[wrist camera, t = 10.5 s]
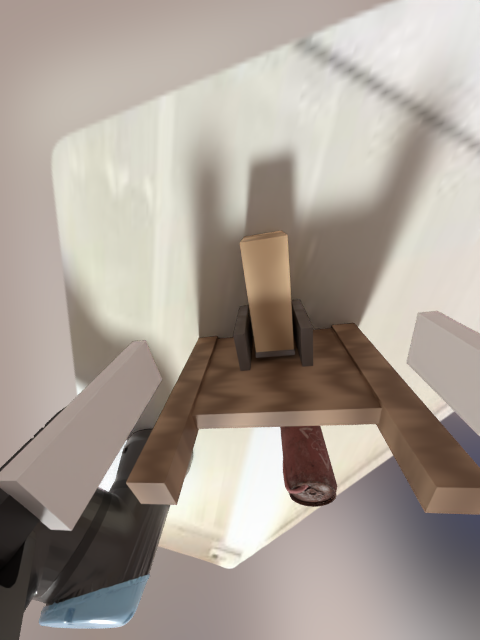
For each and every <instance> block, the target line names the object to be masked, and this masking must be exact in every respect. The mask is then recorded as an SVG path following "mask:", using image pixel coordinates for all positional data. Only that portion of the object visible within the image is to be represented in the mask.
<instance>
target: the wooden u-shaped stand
mask: <svg viewBox="0 0 480 640" xmlns="http://www.w3.org/2000/svg"><path fill="white" fill-rule="evenodd" d="M291 306H292V324H293V342H294V350H295V355H287V356H274V357H260V358H256V348H255V342H254V336H253V334H252V328H251V321H250V315H249V308H248V306H240V308H239V312H238V316H237V321H236V325H235V329H234V334H233V337H232V338H222V339H218V337H217V336H213V337H203V338H199V339H198V341H197V343H196V345H195V347H194V349H193V351H192V353H191V355H190V357H189V359H188V361H187V363H186V365H185V367H184V368H183V370H182V372H181V374H180V376H179V378H178V380H177V382H176V384H175V386H174V388H173V390H172V392H171V394H170V396H169V398H168V400H167V402H166V404H165V406H164V408H163V410H162V412H161V414H160V416H159V418H158V420H157V422H156V424H155V426H154V428H153V430H152V432H151V434H150V436H149V438H148V440H147V442H146V444H145V446H144V448H143V450H142V452H141V454H140V456H139V458H138V460H137V462H136V464H135V466H134V468H133V469H132V471H131V473H130V475H129V477H128V479H127V481H126V484H127V485H128V486H129V488H130V489H131V490H132V492H133V493H134V495H135V496H136V497H137V499H138V500H139V502H140V503H141V504H167V505H177V502H178V499H179V495H180V492H181V488H182V485H183V482H184V478H185V475H186V471H187V468H188V464H189V461H190V457H191V454H192V451H193V447H194V444H195V440H196V437H197V433H198V430H199V429H208V428H246V427H283V426H320V425H358V424H376V425H377V426H378V428H379V430H380V432H381V434H382V436H383V437H384V439H385V441H386V443H387V445H388V446H389V448H390V450H391V452H392V454H393V455H394V457H395V459H396V461H397V463H398V464H399V466H400V468H401V470H402V472H403V473H404V475H405V477H406V479H407V481H408V482H409V484H410V486H411V488H412V490H413V492H414V493H415V495H416V497H417V499H418V501H419V502H420V504H421V506H422V508H423V509H424V511H425V513H450V514H451V513H452V514H480V468H479V467H478V465H477V464H476V463H475V462H474V461H473V460H472V458H471V457H470V456H469V455H468V454H467V453H466V452H465V450H464V449H463V448H462V447H461V446H460V445H459V443H458V442H457V441H456V440H455V439H454V438H453V437H452V435H451V434H450V433H449V432H448V431H447V430H446V428H444V426H443V425H442V424H441V423H440V422H439V420H438V419H437V418H436V417H435V416H434V415H433V413H432V412H431V411H430V410H429V409H428V408H427V407H426V405H425V404H424V403H423V402H422V401H421V400H420V398H419V397H418V396H417V395H416V394H415V393H414V392H413V390H412V389H411V388H410V387H409V386H408V385H407V383H406V382H405V381H404V380H403V379H402V378H401V377H400V375H399V374H398V373H397V372H396V371H395V370H394V368H393V367H392V366H391V365H390V364H389V363H388V362H387V360H386V359H385V358H384V357H383V356H382V355H381V353H380V352H379V351H378V350H377V349H376V348H375V347H374V345H373V344H372V343H371V342H370V341H369V340H368V338H367V337H366V336H365V335H364V334H363V333H362V332H361V330H360V329H359V328H358V327H357V326H356V325H355V323H349V324H338V325H332V328H328V329H318V330H313V327H312V325H311V322H310V320H309V318H308V316H307V314H306V312H305V309H304V307H303V305H302V303H301V301H300V300H292V301H291Z"/></svg>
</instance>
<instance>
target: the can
mask: <svg viewBox="0 0 480 640" xmlns="http://www.w3.org/2000/svg"><path fill="white" fill-rule="evenodd" d="M280 428H281V439H282V450H283V475H284V482H285V487H286V489H287V491H288V492H289V494H290V497H291V499H292V500H293V501H295V502H296V503H299V504H301V505H305V506H313V507H315V506H323V505H327V504H329V503H331V502H333V501H334V500H335V499H336V490H337V484H336V480H335V477H334V473H333V469H332V466H331V462H330V459H329V455H328V452H327V448H326V445H325V441H324V438H323V434H322V431H321V427H320V426H283V427H280Z"/></svg>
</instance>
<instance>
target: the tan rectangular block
mask: <svg viewBox="0 0 480 640" xmlns="http://www.w3.org/2000/svg"><path fill="white" fill-rule="evenodd" d="M240 249H241V256H242V262H243V269H244V276H245V282H246V289H247V295H248V302H249V309H250V315H251V322H252V329H253V335H254V342H255V348H256V358H260V357H274V356H287V355H295V350H294V342H293V324H292V306H291V288H290V270H289V252H288V235H287V234H285V233H284V232H283V231H276V232H270V233H264V234H258V235H251V236H245V237H244V238H243V239H242V240H241V242H240Z"/></svg>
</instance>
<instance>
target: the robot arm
mask: <svg viewBox="0 0 480 640" xmlns="http://www.w3.org/2000/svg"><path fill="white" fill-rule="evenodd" d="M407 364H408V365H409V366H410V367H411V368H412V369H413V370H414V371H415V372H416V373H417V374H418V375H419V376H420V377H421V378H422V379H423V380H424V381H425V382H426V383H427V384H428V385H429V386H430V387H431V388H432V389H433V390H434V391H435V392H436V393H437V394H438V395H439V396H440V397H441V398H442V399H443V400H444V401H445V402H446V403H447V404H448V405H449V406H450V407H451V408H452V409H453V410H454V411H455V412H456V413H457V414H458V415H459V416H460V417H461V418H462V419H463V420H464V421H465V422H466V423H467V424H468V425H469V426H470V427H471V428H472V429H473V430H474V431H475V432H476V433H477V434H478V435H479V436H480V334H479V333H478V332H476V331H474V330H472V329H470V328H468V327H466V326H465V325H463V324H461V323H459V322H457V321H455V320H453V319H451V318H450V317H448V316H446V315H444V314H442V313H440V312H438V311H432V312H422V313H418V314H417V319H416V323H415V327H414V332H413V336H412V341H411V345H410V349H409V354H408V358H407ZM161 381H162V378H161V375H160V373H159V371H158V368H157V366H156V364H155V361H154V359H153V356H152V354H151V352H150V349H149V347H148V344H147V342H146V340H142V341H133V342H132V343H131V344H130V345H129V346H128V347H127V348H126V349H125V350H124V351H123V352H122V353H120V354H119V355H118V356H117V357H116V358H115V359H114V360H113V361H112V362H111V363H110V364H109V365H108V366H107V367H106V368H105V369H104V370H103V371H102V372H101V373H100V374H99V375H98V376H97V377H96V378H95V379H94V380H93V381H92V382H91V383H90V384H89V385H88V386H87V387H86V388H85V389H84V390H83V391H82V392H81V393H80V394H79V395H78V396H77V397H76V398H75V399H74V400H73V401H72V402H71V403H70V404H69V405H68V406H66V407H65V408H63V409H62V410H61V411H59V412H58V413H57V414H56V415H55V416H54V417H53V418H51V420H49V422H47V423H46V424H45V427H44V428H41V429H40V430H39V431H38V432H37V433H36V434H35V435H34V438H32V439H30V440H29V441H28V442H27V443H26V444H25V445H24V446H23V447H22V448H21V449H20V450H19V451H17V452H16V453H15V454H14V455H13V457H11V458H10V459H9V460H8V461H7V462H6V463H5V464H4V465H3V466H2V467H1V468H0V640H19V636H20V630H21V625H22V618H23V613H24V611H25V610H26V608H27V607H28V605H29V603H30V601H31V600H32V599H33V600H38V601H41V602H43V603H46V606H45V607H44V608H43V610H42V611H41V616H40V619H39V624H40V625H41V626H51V627H59V628H115V627H120V626H123V625H125V624H126V623H128V622H129V621H130V619H131V618H132V617H133V615H134V614H135V612H136V610H137V607H138V604H139V602H140V599H141V596H142V593H143V591H144V588H145V585H146V582H147V580H148V579H149V576H150V574H149V573H150V570H151V566H152V563H153V559H154V557H155V553H156V550H157V547H158V544H159V540H160V537H161V534H162V530H163V527H164V524H165V521H166V517H167V514H168V511H169V507H170V505H167V504H141V503H140V502H139V500H138V499H137V497H136V496H135V495H134V493H133V492H132V490H131V489H130V488H129V486H128V485H127V484H126V481H127V479H128V477H129V475H130V473H131V471H132V469H133V468H134V466H135V464H136V462H137V460H138V458H139V456H140V454H141V452H142V450H143V448H144V446H145V444H146V442H147V440H148V438H149V436H150V434H151V432H152V430H153V429H146V430H141V431H137V432H135V433H134V434H132V435H131V436H130V438H129V439H128V441H127V443H126V445H125V446H124V449H123V452H122V456H121V460H120V464H119V468H118V471H117V475H116V479H115V481H114V483H113V485H112V487H111V489H110V491H109V492H107V491H105V490H103V489H101V488H99V487H98V486H99V484H100V483H101V481H102V479H103V478H104V476H105V474H106V473H107V471H108V469H109V468H110V466H111V464H112V463H113V461H114V459H115V458H116V456H117V454H118V453H119V451H120V449H121V448H122V446H123V444H124V443H125V441H126V439H127V438H128V436H129V434H130V433H131V431H132V429H133V428H134V426H135V424H136V423H137V421H138V419H139V418H140V416H141V414H142V413H143V411H144V409H145V408H146V406H147V404H148V403H149V401H150V399H151V398H152V396H153V394H154V393H155V391H156V389H157V387H158V386H159V384H160V382H161ZM192 460H193V453H192V454H191V457H190V461H189V464H188V468H187V471H186V475H187V473H188V472H189V470H190V467H191V463H192ZM186 475H185V477H186Z"/></svg>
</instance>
